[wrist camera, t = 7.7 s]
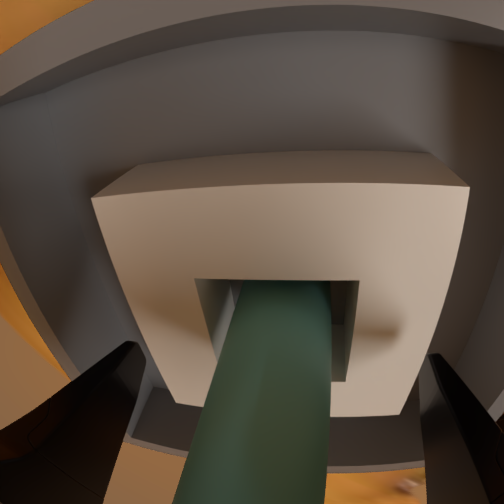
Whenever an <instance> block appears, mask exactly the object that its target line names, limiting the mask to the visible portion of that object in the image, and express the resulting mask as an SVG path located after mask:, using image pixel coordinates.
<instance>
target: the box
mask: <svg viewBox="0 0 504 504" xmlns="http://www.w3.org/2000/svg"><path fill="white" fill-rule="evenodd" d="M0 263H1V265H2V267H3V269H4V271H5V273H6V275H7V277H8V279H9V281H10V283H11V285H12V287H13V289H14V291H15V293H16V294H17V296H18V298H19V300H20V302H21V304H22V305H23V307H24V309H25V311H26V312H27V314H28V316H29V318H30V319H31V321H32V323H33V324H34V326H35V328H36V329H37V331H38V332H39V334H40V336H41V337H42V339H43V340H44V342H45V343H46V345H47V346H48V348H49V349H50V351H51V352H52V354H53V355H54V357H55V358H56V360H57V361H58V363H59V364H60V365H61V367H62V368H63V370H64V371H65V372H66V374H67V375H68V377H69V378H70V379H71V381H73V380H74V379H75V378H77V377H78V376H79V375H81V374H82V373H83V372H85V371H86V370H87V369H89V368H90V367H91V366H93V365H94V364H95V363H97V362H98V361H99V360H101V359H102V358H103V357H105V356H106V355H107V354H109V353H110V352H111V351H113V350H114V349H115V348H117V347H118V346H119V345H121V344H122V343H123V342H125V341H136V342H138V343H139V344H140V346H141V349H142V351H143V353H144V355H145V357H146V367H145V371H144V375H143V379H142V383H141V387H140V391H139V395H138V399H137V402H136V405H135V408H134V411H133V414H132V417H131V419H130V422H129V425H128V428H127V431H126V434H125V436H124V439H123V442H127V443H130V444H133V445H137V446H140V447H144V448H147V449H151V450H155V451H159V452H163V453H167V454H171V455H176V456H180V457H184V458H187V456H188V453H189V449H190V446H191V443H192V440H193V437H194V434H195V431H196V428H197V425H198V421H199V418H200V415H201V412H202V409H203V406H204V403H205V400H206V397H207V393H208V390H209V387H210V384H211V381H212V378H213V375H214V372H215V369H216V365H217V362H218V359H219V356H220V353H221V350H222V347H223V344H224V341H225V337H226V334H227V331H228V328H229V325H230V322H231V319H232V316H233V312H234V309H235V306H236V303H237V300H238V297H239V294H240V291H241V287H242V284H243V281H244V280H330V285H331V332H332V361H331V407H330V431H329V448H328V463H327V473H365V472H382V471H394V470H404V469H412V468H420V467H425V462H424V451H423V441H422V432H421V423H420V394H419V371H420V368H421V365H422V363H423V360H424V358H425V356H426V354H428V353H440V354H441V355H442V356H443V357H444V359H445V360H446V361H447V362H448V363H449V364H450V366H451V367H452V368H453V369H454V370H455V372H456V373H457V374H458V375H459V377H460V378H461V379H462V380H463V381H464V383H465V384H466V385H467V386H468V388H469V389H470V390H471V391H472V393H473V394H474V395H475V396H476V398H477V399H478V400H479V401H480V403H481V404H482V405H483V406H484V408H485V409H486V410H487V412H488V413H489V414H490V415H491V417H492V418H493V419H494V421H495V422H496V421H497V420H498V418H499V417H500V416H501V415H502V414H503V412H504V0H94V1H92V2H90V3H88V4H86V5H84V6H82V7H80V8H78V9H76V10H74V11H72V12H70V13H68V14H66V15H64V16H62V17H60V18H58V19H57V20H55V21H53V22H51V23H49V24H48V25H46V26H44V27H43V28H41V29H39V30H37V31H36V32H34V33H33V34H31V35H29V36H28V37H26V38H25V39H23V40H22V41H20V42H19V43H17V44H16V45H14V46H13V47H11V48H10V49H8V50H7V51H5V52H4V53H3V54H1V55H0Z"/></svg>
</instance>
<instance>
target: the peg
mask: <svg viewBox="0 0 504 504" xmlns="http://www.w3.org/2000/svg"><path fill="white" fill-rule="evenodd" d="M331 361H332V332H331V285H330V280H244V281H243V284H242V287H241V291H240V294H239V297H238V300H237V303H236V306H235V309H234V312H233V316H232V319H231V322H230V325H229V328H228V331H227V334H226V337H225V341H224V344H223V347H222V350H221V353H220V356H219V359H218V362H217V365H216V369H215V372H214V375H213V378H212V381H211V384H210V387H209V390H208V393H207V397H206V400H205V403H204V406H203V409H202V412H201V415H200V418H199V421H198V425H197V428H196V431H195V434H194V437H193V440H192V443H191V446H190V449H189V453H188V456H187V459H186V462H185V465H184V468H183V471H182V474H181V477H180V481H179V484H178V487H177V490H176V494H175V496H174V500H173V502H172V504H324V498H325V488H326V476H327V463H328V448H329V431H330V407H331Z"/></svg>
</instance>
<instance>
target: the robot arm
mask: <svg viewBox="0 0 504 504" xmlns="http://www.w3.org/2000/svg"><path fill="white" fill-rule="evenodd" d="M145 367H146V357H145V355H144V353H143V351H142V349H141V346H140V344H139V343H138V342H136V341H125V342H123V343H122V344H121V345H119V346H118V347H117V348H115V349H114V350H113V351H111V352H110V353H109V354H107V355H106V356H105V357H103V358H102V359H101V360H99V361H98V362H97V363H95V364H94V365H93V366H91V367H90V368H89V369H87V370H86V371H85V372H83V373H82V374H81V375H79V376H78V377H77V378H75V379H74V380H73V381H71V382H70V383H69V384H67V385H66V386H65V387H63V388H62V389H61V390H60V391H58V392H57V393H56V394H54V395H53V396H52V397H51V398H49V399H47V400H46V401H45V402H44V403H42V404H41V405H39V406H38V407H36V408H35V409H34V410H32V411H31V412H29V413H28V414H26V415H24V416H23V417H21V418H20V419H18V420H16V421H15V422H13V423H11V424H10V425H8V426H6V427H5V428H3V429H1V430H0V504H103V501H104V497H105V494H106V491H107V487H108V485H109V481H110V478H111V475H112V472H113V469H114V466H115V463H116V460H117V457H118V454H119V451H120V448H121V445H122V442H123V439H124V436H125V434H126V431H127V428H128V425H129V422H130V419H131V417H132V414H133V411H134V408H135V405H136V402H137V399H138V395H139V391H140V387H141V383H142V379H143V375H144V371H145ZM419 394H420V423H421V432H422V441H423V451H424V462H425V475H426V489H427V490H426V491H427V504H504V416H501V417H499V418H498V420H497V421H496V422H495V421H494V419H493V418H492V417H491V415H490V414H489V413H488V412H487V410H486V409H485V408H484V406H483V405H482V404H481V403H480V401H479V400H478V399H477V398H476V396H475V395H474V394H473V393H472V391H471V390H470V389H469V388H468V386H467V385H466V384H465V383H464V381H463V380H462V379H461V378H460V377H459V375H458V374H457V373H456V372H455V370H454V369H453V368H452V367H451V366H450V364H449V363H448V362H447V361H446V360H445V359H444V357H443V356H442V355H441V354H440V353H428V354H426V356H425V358H424V360H423V363H422V365H421V368H420V371H419Z"/></svg>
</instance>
